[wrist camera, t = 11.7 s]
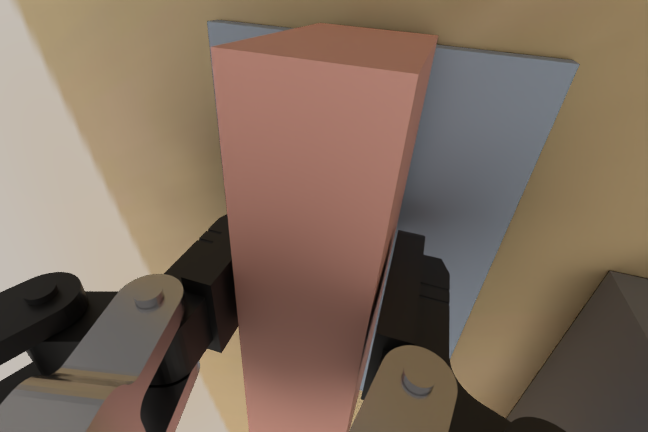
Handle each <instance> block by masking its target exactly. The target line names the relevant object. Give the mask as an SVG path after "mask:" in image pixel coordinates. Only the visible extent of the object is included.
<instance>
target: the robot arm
mask: <svg viewBox="0 0 648 432" xmlns="http://www.w3.org/2000/svg"><path fill="white" fill-rule="evenodd" d="M424 245H425V236H424V235H420V234H415V233H411V232H406V231H402V230H398V233H397V238H396V242H395V247H394V251H393V255H392V260H391V264H390V269H389V273H388V278H387V282H386V286H385V291H384V296H383V300H382V305H381V309H380V314H379V319H378V323H377V328H376V332H375V337H374V341H373V346H372V351H371V355H370V360H369V364H368V369H367V374H366V378H365V383H364V387H363V392H362V397H361V399H362V400H364V401H363V403H362V405H361V408H360V410H359V412H358V414H357V416H356V418H355V420H354V422H353V425H352V427H351V429H350V431H349V432H566V431H565V430H563V429H562V428H560V427H558V426H557V425H555V424H553V423H551V422H549V421H546V420H544V419H541V418H536V417H520V418H518V419H515V420H513V421H512V422H510V421H508V420H507V419H505V418H504V417H502V416H500V415H499V414H497V413H496V412H494V411H492V410H491V409H489V408H488V407H486V406H484V405H483V404H481V403H480V402H478V401H477V400H476V399H474V398H473V397H472V396H471V395H470V394H468V393H467V391H466V390H465V389H464V388H463V387H462V386H461V385H460V383H459V382H458V380H457V379H456V377H455V375H454V373H453V371H452V368H451V365H450V358H449V324H450V306H449V303H450V292H449V290H450V273H449V272H448V270H447V268H446V266H445V264H444V262H443V261H442V259H440V258H436V257H432V256H427V255H424ZM238 326H239V325H238V315H237V305H236V295H235V285H234V276H233V266H232V256H231V246H230V236H229V226H228V216H227V215H225V216H223V217H221V218H219V219H218V220H217V221H216V222H215V223H214V224H213V225H212V226H211V227H210V228H209V229H208V231H206V232H205V233H204V234H203V235H202V236H201V237H200V239H199V241H198V240H197V241H196V242H195V243H194V244H193V245H192V246H191V247H190V248H189V249H188V250H187V251H186V252H185V253H184V254H183V255H182V256H181V257H180V258H179V259H178V260H177V261H176V262H175V263H174V264H173V265H172V266H171V267H170V268H169V269H168V270H167V271H166V272H165V273H164V274H152V275H146V276H143V277H140V278H138V279H135V280H133V281H132V282H130V283H128V284H127V285H125V286H124V287H123V288H122V289H121V290H120V291H119V292H85V291H84V289H83V286H82V284H81V282H80V280H79V279H78V277H76V276H75V275H73V274H70V273H64V272H55V273H48V274H44V275H40V276H37V277H34V278H32V279H30V280H27V281H25V282H23V283H20V284H18V285H16V286H14V287H12V288H9V289H7V290H5V291H3V292H1V293H0V365H1V364H3V363H5V362H7V361H9V360H11V359H12V358H14V357H16V356H18V355H19V354H21V353H23V352H25V351H26V352H27V353H28V355H29V356H30V358H31V359H32V361H33V362H32V363H31V364H29V365H27V366H26V367H24V368H22V369H20V370H19V371H17V372H15V373H14V374H12V375H10V376H8V377H7V378H5V379H3V380H1V381H0V432H175V430H176V428H177V425H178V423H179V421H180V418H181V416H182V413H183V411H184V408H185V405H186V403H187V401H188V398H189V395H190V393H191V391H192V388H193V386H194V383H195V381H196V378H197V376H198V373H199V369H200V362H199V360H200V358H201V357H202V355H203V354H204V352H205V351H206V349H211V350H214V351H217V352H220V353H222V351H223V350H224V348H225V347H226V345H227V343H228V342H229V340H230V339H231V337H232V335H233V334H234V332H235V330H236V329H237V327H238Z"/></svg>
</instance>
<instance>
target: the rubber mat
mask: <svg viewBox="0 0 648 432" xmlns="http://www.w3.org/2000/svg"><path fill="white" fill-rule="evenodd" d="M207 25H208V35H209V44H210V54H211V47H212V46H216V45H221V44H226V43H230V42H235V41H239V40H244V39H248V38H253V37H258V36H262V35H267V34H271V33H276V32H280V31H285V30H289V29H294V28H286V27H277V26H269V25H260V24H251V23H242V22H233V21H224V20H213V21H207ZM211 63H212V57H211ZM579 65H580V64H578V63H577V62H575V61H574V60H569V59H560V58H551V57H542V56H533V55H524V54H516V53H507V52H498V51H489V50H480V49H471V48H463V47H454V46H445V45H436V49H435V54H434V58H433V63H432V67H431V72H430V76H429V81H428V86H427V90H426V95H425V99H424V104H423V109H422V113H421V118H420V122H419V127H418V131H417V136H416V141H415V145H414V150H413V154H412V159H411V163H410V168H409V173H408V177H407V182H406V186H405V191H404V196H403V200H402V205H401V209H400V214H399V218H398V223H397V228H396V232H395V237H394V241H393V246H392V250H391V255H390V260H389V264H388V269H387V273H386V278H385V283H384V287H383V292H382V296H381V301H380V305H379V310H378V315H377V319H376V324H375V328H374V333H373V337H372V342H371V347H370V351H369V355H368V359H367V363H366V367H365V371H364V375H363V379H362V382H361V386H360V390H362V391H363V387H364V383H365V378H366V374H367V369H368V364H369V360H370V355H371V351H372V346H373V341H374V337H375V332H376V328H377V323H378V319H379V314H380V309H381V305H382V300H383V296H384V291H385V286H386V282H387V278H388V273H389V269H390V264H391V260H392V255H393V251H394V247H395V242H396V238H397V233H398V230H402V231H406V232H411V233H415V234H420V235H424V236H425V245H424V255H427V256H432V257H436V258H440V259H442V261H443V262H444V264H445V266H446V268H447V270H448V272H449V273H450V290H449V292H450V303H449V306H450V324H449V358H451V355H452V353H453V351H454V349H455V346H456V344H457V342H458V340H459V337H460V335H461V333H462V330H463V328H464V326H465V324H466V321H467V319H468V317H469V315H470V312H471V310H472V308H473V305H474V303H475V301H476V299H477V296H478V294H479V292H480V290H481V287H482V285H483V283H484V280H485V278H486V276H487V274H488V271H489V269H490V267H491V265H492V262H493V260H494V258H495V255H496V253H497V251H498V249H499V246H500V244H501V242H502V240H503V237H504V235H505V233H506V230H507V228H508V226H509V224H510V221H511V219H512V217H513V215H514V212H515V210H516V208H517V205H518V203H519V201H520V199H521V196H522V194H523V192H524V190H525V187H526V185H527V183H528V180H529V178H530V176H531V174H532V171H533V169H534V167H535V165H536V162H537V160H538V158H539V155H540V153H541V151H542V149H543V146H544V144H545V142H546V140H547V137H548V135H549V133H550V130H551V128H552V126H553V124H554V121H555V119H556V117H557V115H558V112H559V110H560V108H561V105H562V103H563V101H564V99H565V96H566V94H567V92H568V90H569V87H570V85H571V83H572V80H573V78H574V76H575V74H576V71H577V69H578V67H579ZM212 73H213V67H212ZM213 82H214V76H213ZM214 92H215V86H214ZM215 101H216V96H215ZM216 111H217V106H216ZM217 121H218V116H217ZM218 130H219V126H218ZM219 140H220V136H219ZM220 149H221V146H220ZM221 159H222V156H221ZM222 168H223V166H222ZM223 178H224V176H223ZM224 187H225V186H224ZM225 197H226V196H225Z"/></svg>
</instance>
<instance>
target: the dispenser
mask: <svg viewBox="0 0 648 432" xmlns="http://www.w3.org/2000/svg"><path fill="white" fill-rule="evenodd" d="M520 417H536V418H541V419H544V420H546V421H549V422H551V423H553V424H555V425H557V426H558V427H560V428H562V429H563V430H565V431H566V432H648V279H645V278H640V277H636V276H631V275H627V274H622V273H618V272H613V271H609V272H608V274H607V275H606V277H605V278H604V280H603V281H602V282H601V284H600V285H599V287H598V288H597V290H596V291H595V292H594V294H593V295H592V297H591V298H590V300H589V301H588V303H587V304H586V305H585V307H584V308H583V310H582V311H581V313H580V314H579V315H578V317H577V318H576V320H575V321H574V323H573V324H572V325H571V327H570V328H569V330H568V331H567V333H566V334H565V335H564V337H563V338H562V340H561V341H560V343H559V344H558V345H557V347H556V348H555V350H554V351H553V353H552V354H551V356H550V357H549V358H548V360H547V361H546V363H545V364H544V366H543V367H542V368H541V370H540V371H539V373H538V374H537V376H536V377H535V378H534V380H533V381H532V383H531V384H530V386H529V387H528V388H527V390H526V391H525V393H524V394H523V396H522V397H521V398H520V400H519V401H518V403H517V404H516V406H515V407H514V409H513V410H512V411H511V413H510V414H509V416H508V417H507V420H508V421H510V422H512V421H513V420H515V419H518V418H520Z"/></svg>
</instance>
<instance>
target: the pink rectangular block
mask: <svg viewBox="0 0 648 432" xmlns="http://www.w3.org/2000/svg"><path fill="white" fill-rule="evenodd" d="M437 40H438V35H429V34H420V33H411V32H401V31H392V30H383V29H373V28H364V27H354V26H345V25H336V24H326V23H317V24H312V25H308V26H303V27H299V28H294V29H289V30H285V31H280V32H276V33H271V34H267V35H262V36H258V37H253V38H248V39H244V40H239V41H235V42H230V43H226V44H221V45H216V46H212V47H211V57H212V67H213V76H214V86H215V96H216V106H217V116H218V126H219V136H220V146H221V156H222V166H223V176H224V186H225V196H226V206H227V216H228V226H229V236H230V246H231V256H232V266H233V276H234V285H235V295H236V305H237V315H238V325H239V335H240V345H241V355H242V365H243V375H244V385H245V395H246V405H247V415H248V425H249V432H349V430H350V426H351V422H352V418H353V414H354V410H355V406H356V402H357V398H358V394H359V390H360V386H361V382H362V379H363V375H364V371H365V367H366V363H367V359H368V355H369V351H370V347H371V342H372V337H373V333H374V328H375V324H376V319H377V315H378V310H379V305H380V301H381V296H382V292H383V287H384V283H385V278H386V273H387V269H388V264H389V260H390V255H391V250H392V246H393V241H394V237H395V232H396V228H397V223H398V218H399V214H400V209H401V205H402V200H403V196H404V191H405V186H406V182H407V177H408V173H409V168H410V163H411V159H412V154H413V150H414V145H415V141H416V136H417V131H418V127H419V122H420V118H421V113H422V109H423V104H424V99H425V95H426V90H427V86H428V81H429V76H430V72H431V67H432V63H433V58H434V54H435V49H436V44H437Z"/></svg>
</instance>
